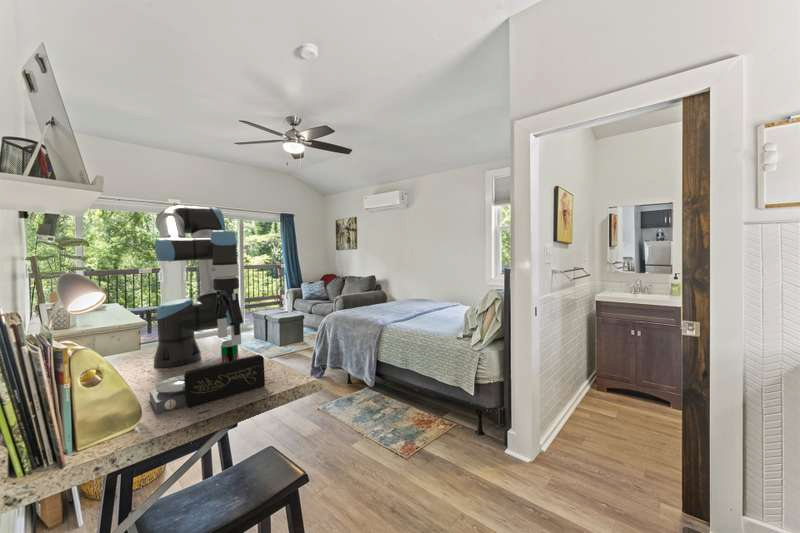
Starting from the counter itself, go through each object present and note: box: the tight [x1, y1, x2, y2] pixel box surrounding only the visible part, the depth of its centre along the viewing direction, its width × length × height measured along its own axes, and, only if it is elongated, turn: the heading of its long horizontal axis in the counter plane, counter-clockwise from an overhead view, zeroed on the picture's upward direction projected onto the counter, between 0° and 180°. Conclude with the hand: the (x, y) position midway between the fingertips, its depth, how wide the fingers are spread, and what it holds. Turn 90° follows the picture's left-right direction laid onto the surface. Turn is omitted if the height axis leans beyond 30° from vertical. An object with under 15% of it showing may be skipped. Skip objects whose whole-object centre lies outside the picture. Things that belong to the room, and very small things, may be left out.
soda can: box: [220, 339, 240, 363], centre depth 114 cm, size 5×5×12 cm
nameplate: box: [183, 354, 266, 409], centre depth 100 cm, size 21×2×10 cm, turn 132°
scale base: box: [149, 388, 187, 415], centre depth 98 cm, size 12×13×3 cm
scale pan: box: [155, 374, 185, 394], centre depth 98 cm, size 11×11×2 cm
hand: (229, 340), depth 113 cm, fingers open, 13 cm apart
